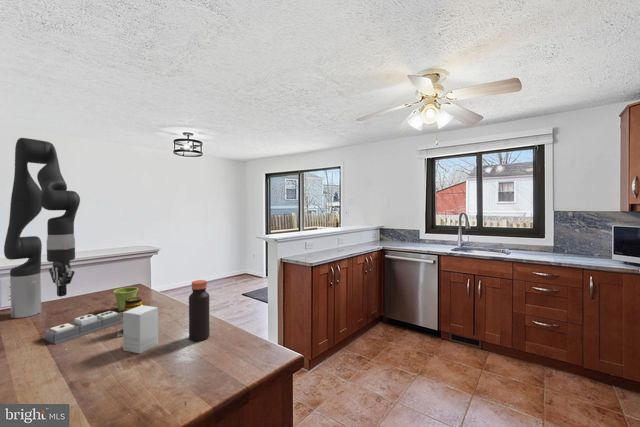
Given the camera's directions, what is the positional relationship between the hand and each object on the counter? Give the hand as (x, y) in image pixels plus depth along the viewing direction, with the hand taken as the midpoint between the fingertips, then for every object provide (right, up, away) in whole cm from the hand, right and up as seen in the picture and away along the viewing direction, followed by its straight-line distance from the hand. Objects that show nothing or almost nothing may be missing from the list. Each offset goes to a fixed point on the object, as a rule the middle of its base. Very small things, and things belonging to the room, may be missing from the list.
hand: (61, 295), depth 105 cm
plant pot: (+4, -14, +29) cm, 33 cm away
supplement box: (+32, -15, -7) cm, 36 cm away
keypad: (+3, -15, +7) cm, 16 cm away
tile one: (0, -14, 0) cm, 14 cm away
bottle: (+49, -15, +1) cm, 51 cm away
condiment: (+21, -15, +6) cm, 26 cm away
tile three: (+7, -14, +13) cm, 20 cm away
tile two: (+3, -13, +7) cm, 15 cm away
